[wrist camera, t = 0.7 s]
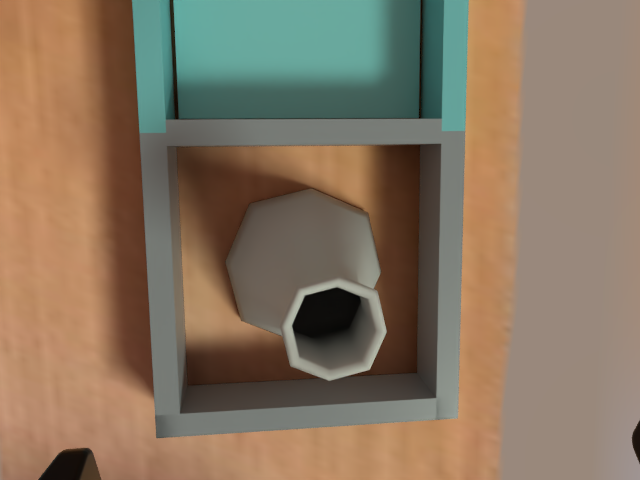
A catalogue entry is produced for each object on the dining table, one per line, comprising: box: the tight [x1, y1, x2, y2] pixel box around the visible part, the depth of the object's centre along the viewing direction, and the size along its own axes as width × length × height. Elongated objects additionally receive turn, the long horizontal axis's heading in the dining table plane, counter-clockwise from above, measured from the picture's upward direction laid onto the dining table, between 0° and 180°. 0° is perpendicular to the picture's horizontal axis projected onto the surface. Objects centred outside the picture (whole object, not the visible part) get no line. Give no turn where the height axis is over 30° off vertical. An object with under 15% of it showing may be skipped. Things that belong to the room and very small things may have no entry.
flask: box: [225, 188, 387, 381], centre depth 22 cm, size 7×7×10 cm
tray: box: [132, 0, 469, 438], centre depth 24 cm, size 25×13×3 cm, turn 1°
